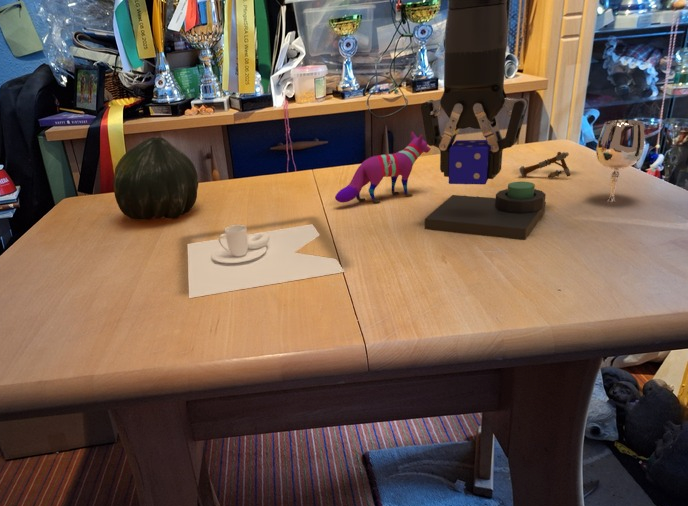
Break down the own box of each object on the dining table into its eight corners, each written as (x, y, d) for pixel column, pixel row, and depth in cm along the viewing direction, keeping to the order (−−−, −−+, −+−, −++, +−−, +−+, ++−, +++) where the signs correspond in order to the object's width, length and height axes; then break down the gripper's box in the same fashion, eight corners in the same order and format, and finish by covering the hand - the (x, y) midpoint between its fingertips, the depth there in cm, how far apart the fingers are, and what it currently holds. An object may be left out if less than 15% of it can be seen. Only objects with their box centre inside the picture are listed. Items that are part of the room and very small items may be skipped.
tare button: (536, 193, 82) (537, 182, 81) (530, 201, 79) (531, 189, 78) (510, 192, 84) (511, 180, 83) (504, 199, 81) (504, 187, 80)
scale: (546, 212, 83) (549, 189, 82) (527, 240, 75) (529, 215, 73) (452, 204, 91) (453, 183, 89) (424, 229, 82) (424, 206, 81)
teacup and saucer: (268, 240, 85) (264, 214, 83) (276, 259, 78) (272, 231, 76) (210, 249, 84) (206, 223, 82) (213, 269, 77) (208, 242, 75)
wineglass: (589, 212, 81) (602, 127, 76) (587, 200, 86) (598, 119, 81) (635, 213, 79) (651, 126, 74) (630, 200, 84) (644, 118, 79)
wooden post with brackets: (575, 174, 95) (566, 150, 94) (527, 191, 100) (518, 167, 99) (576, 172, 96) (567, 147, 96) (529, 188, 102) (520, 165, 101)
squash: (112, 181, 106) (100, 128, 93) (190, 171, 110) (190, 118, 97) (125, 246, 101) (114, 199, 88) (206, 232, 105) (208, 185, 92)
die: (490, 174, 80) (492, 139, 78) (485, 184, 76) (487, 147, 74) (454, 174, 82) (455, 140, 80) (448, 184, 78) (449, 148, 76)
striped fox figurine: (435, 192, 98) (436, 132, 93) (340, 212, 93) (336, 149, 89) (424, 187, 101) (425, 129, 96) (332, 206, 97) (327, 145, 92)
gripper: (541, 39, 71) (529, 172, 78) (431, 47, 78) (430, 167, 86) (527, 45, 65) (515, 187, 73) (410, 53, 73) (411, 180, 80)
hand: (469, 176), depth 79 cm, fingers closed on die, 5 cm apart
